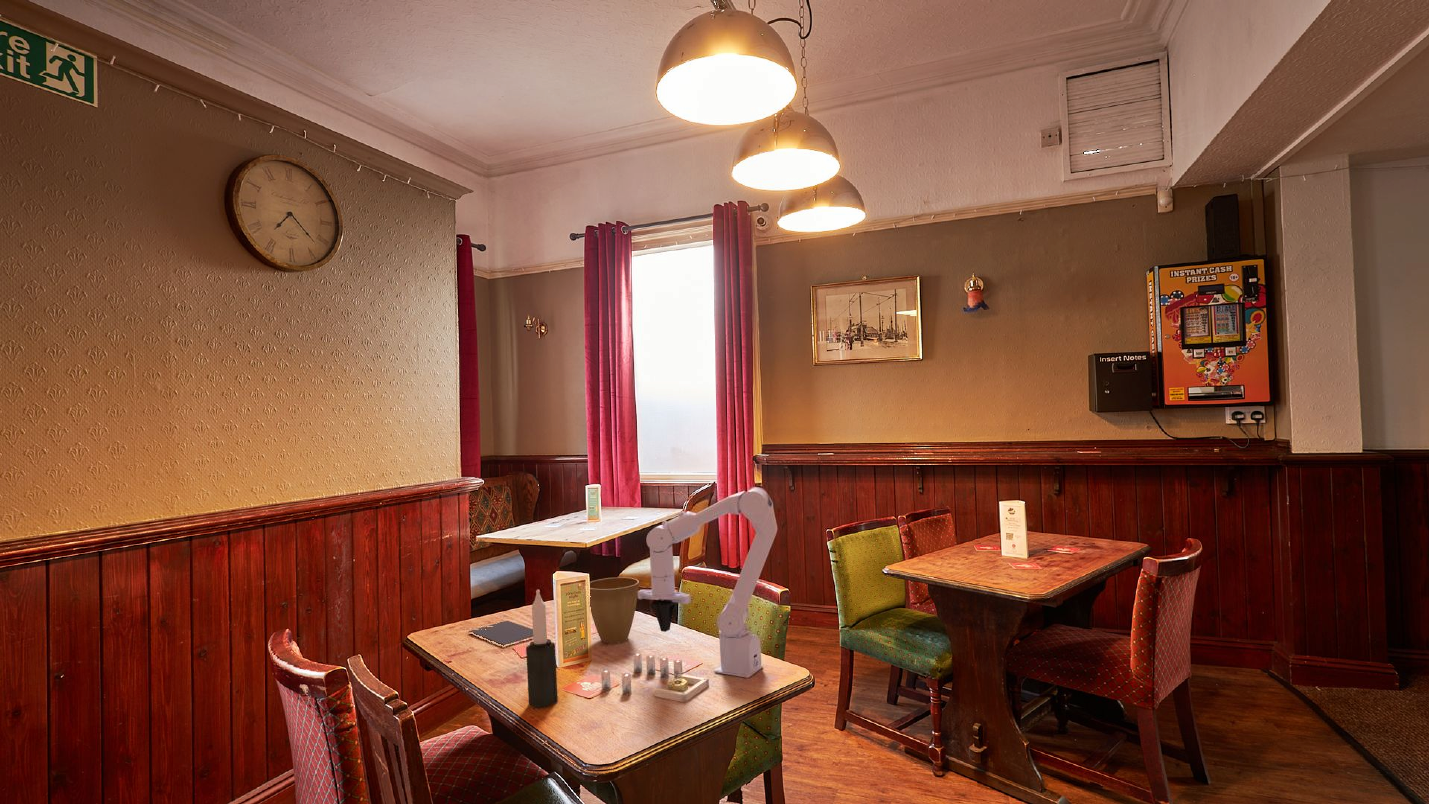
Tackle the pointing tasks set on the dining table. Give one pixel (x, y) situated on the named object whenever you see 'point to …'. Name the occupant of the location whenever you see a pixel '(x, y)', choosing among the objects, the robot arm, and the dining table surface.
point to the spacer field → (638, 668)
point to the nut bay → (683, 697)
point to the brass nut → (678, 685)
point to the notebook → (504, 632)
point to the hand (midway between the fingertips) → (665, 630)
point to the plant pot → (613, 607)
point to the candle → (541, 660)
